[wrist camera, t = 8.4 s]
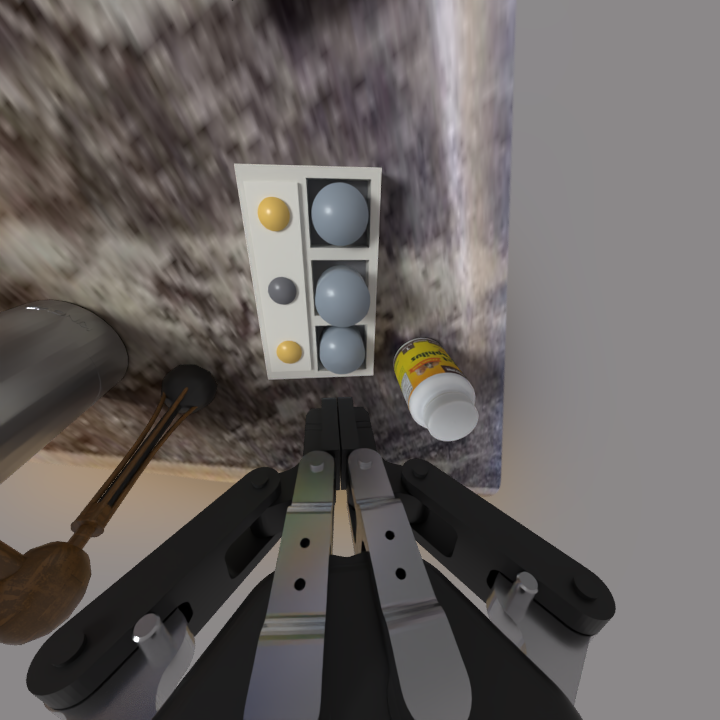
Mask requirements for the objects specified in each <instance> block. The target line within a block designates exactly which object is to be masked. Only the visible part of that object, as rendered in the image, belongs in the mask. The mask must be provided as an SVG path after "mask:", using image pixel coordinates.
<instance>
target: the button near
mask: <svg viewBox="0 0 720 720" xmlns="http://www.w3.org/2000/svg"><path fill="white" fill-rule="evenodd" d="M368 216H369V215H368V207H367V203H366V201H365V199H364V197H363V195H362V194H361V193H360V192H359V191H358V190H357V189H356V188H355V187H353V186H352V185H349V184H346V183H341V182H338V183H332V184H329V185H327V186H325V187H324V188H323V189H322V190H321V191H320V192H319V193H318V194H317V196H316V197H315V199H314V202H313V205H312V221H313V225H314V227H315V229H316V231H317V233H318V234H319V235H320V237H321V238H322V239H324V240H325V241H326V242H328V243H330V244H333V245H337V246H345V245H349V244H352V243H354V242H355V241H357V240H358V239H359V238H360V237H361V236H362V234H363V233H364V231H365V229H366V227H367V223H368Z"/></svg>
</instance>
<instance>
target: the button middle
mask: <svg viewBox="0 0 720 720" xmlns="http://www.w3.org/2000/svg"><path fill="white" fill-rule="evenodd" d="M315 305H316V309H317V311H318V313H319V315H320V316H321V318H322V319H323V320H324V321H326V322H327V323H329V324H331V325H333V326H336V327H349V326H352V325H355V324H357V323H358V322H360V321H361V320H362V319H363V318H364V317H365V316H366V314H367V312H368V310H369V307H370V293H369V290H368V288H367V286H366V284H365V282H364V280H363V278H362V276H361V275H360V274H359V272H357V271H356V270H355V269H353V268H351V267H349V266H345V265H337V266H333V267H330V268H328V269H327V270H326V271H324V272H323V273H322V275H321V276H320V278H319V280H318V282H317V287H316V296H315Z"/></svg>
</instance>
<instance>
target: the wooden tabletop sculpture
mask: <svg viewBox="0 0 720 720" xmlns="http://www.w3.org/2000/svg"><path fill="white" fill-rule="evenodd" d="M217 385H218V384H217V383H216V381H215V379H214V378H213V376H212V374H211V373H210V372H208V371H206V370H205V369H203V368H201V367H199V366H197V365H178V366H177V367H176V368H174V369H173V370H171V371H170V372H169V373H168V374H167V375H166V376H165V377H164V379H163V382H162V391H161V400H160V402H159V404H158V406H157V409H156V411H155V412H154V414H153V416H152V418H151V419H150V421H149V423H148V424H147V426H146V428H145V429H144V430H143V432H142V433H141V435H140V436H139V438H138V439H137V441H136V442H135V444H134V445H133V447H132V448H131V449H130V450H129V452H128V453H127V454H126V456H125V457H124V458H123V460H122V461H121V462H120V464H119V465H118V466H117V468H116V469H115V470H114V472H113V473H112V474H111V476H110V477H109V478H108V479H107V481H106V482H105V483H104V484H103V486H102V487H101V488H100V489H99V491H98V492H97V493H96V495H95V496H94V497H93V498H92V500H91V501H90V502H89V504H88V505H87V506H86V507H85V509H84V510H83V511H82V512H81V514H80V515H79V516H78V517H77V519H76V520H75V521H74V522H73V523H72V524H71V530H72V531H73V532H74V535H73V536H72V537H71V538H70V540H69V541H68V542H59V541H56V542H50V543H47V544H44V545H42V546H39V547H36V548H33V549H30V550H29V551H28V552H26V553H25V554H24V555H22V554H21V553H19V552H18V551H16V550H15V549H13V548H12V547H10V546H8V545H7V544H5V543H4V542H2V541H1V540H0V643H3V644H8V645H22V644H25V643H27V642H30V641H32V640H35V639H37V638H40V637H42V636H45V635H47V634H49V633H50V632H52V631H53V630H54V629H55V628H57V627H58V626H59V625H60V624H62V623H63V622H64V621H65V620H66V619H68V618H69V617H70V615H71V614H72V612H73V611H74V610H75V608H76V607H77V605H78V604H79V603H80V601H81V600H82V598H83V596H84V594H85V592H86V589H87V586H88V583H89V580H90V577H91V566H90V559H89V556H88V554H87V553H85V552H84V551H83V550H82V549H83V547H84V546H85V544H86V543H87V542H88V540H89V539H90V537H97V536H99V535H101V534H102V533H103V532H104V528H105V526H106V525H107V523H108V522H109V520H110V519H111V517H112V516H113V514H114V513H115V511H116V510H117V508H118V507H119V506H120V504H121V502H122V501H123V500H124V498H125V497H126V495H127V494H128V492H129V491H130V489H131V488H132V486H133V485H134V483H135V482H136V480H137V479H138V478H139V476H140V475H141V473H142V472H143V471H144V469H145V468H146V466H147V465H148V464H149V462H150V461H151V459H152V458H153V457H154V455H155V454H156V452H157V451H158V450H159V449H160V447H161V446H162V445H163V443H164V442H165V441H166V440H167V438H168V437H169V436H170V435H171V433H172V432H173V431H174V430H175V429H176V428H177V427H178V426H179V425H180V423H181V422H182V421H183V420H184V419H185V418H186V417H187V416H188V415H189V414H191V413H195V412H197V411H199V410H201V409H202V408H204V407H205V406H207V405H208V404H210V402H211V401H212V400H213V399H214V397H215V395H216V390H217ZM164 402H165V404H166V405H167V406H168V408H169V409H168V410H167V412H166V413H165V414H164V416H163V417H162V418H161V420H160V421H159V422H158V424H157V425H156V426H155V428H154V429H153V430H152V432H151V433H150V434H149V435H148V437H147V438H146V439H145V441H144V442H143V443H142V445H141V446H140V444H141V442H142V441H143V439H144V438H145V436H146V435H147V433H148V432H149V430H150V429H151V427H152V425H153V424H154V422H155V420H156V418H157V416H158V415H159V413H160V411H161V409H162V406H163V404H164ZM178 413H185V414H184V415H183V416H182V417H180V418H179V420H178V421H177V422H176V423H175V424H174V425H173V426H172V427H171V428H170V429H169V430H168V431H167V432H166V434H165V435H164V436H163V437H162V439H161V440H160V441H159V439H160V438H161V436H162V435H163V433H164V432H165V431H166V429H167V428H168V426H169V425H170V423H171V422H172V421H173V419H174V418H175V416H176V415H177V414H178ZM158 441H159V442H158ZM157 442H158V443H157ZM156 443H157V445H156ZM155 445H156V446H155ZM139 446H140V447H139ZM154 446H155V447H154ZM138 447H139V449H138V450H137V448H138ZM152 449H153V450H152ZM136 450H137V451H136ZM135 451H136V453H135ZM134 453H135V454H134ZM149 453H150V454H149ZM133 454H134V455H133ZM132 455H133V457H132ZM131 457H132V458H131ZM130 458H131V459H130ZM129 459H130V460H129ZM128 461H129V462H128ZM127 462H128V463H127ZM126 463H127V464H126ZM125 465H126V466H125ZM124 466H125V467H124ZM122 469H123V470H122ZM121 470H122V471H121ZM120 472H121V473H120ZM119 473H120V474H119ZM118 474H119V475H118ZM116 477H117V478H116ZM115 478H116V479H115ZM113 481H114V482H113ZM112 482H113V483H112ZM109 486H110V487H109ZM108 487H109V488H108ZM106 490H107V491H106ZM105 491H106V492H105ZM103 494H104V495H103ZM102 495H103V496H102ZM100 498H101V499H100ZM99 499H100V500H99ZM97 502H98V503H97Z"/></svg>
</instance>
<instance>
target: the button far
mask: <svg viewBox="0 0 720 720" xmlns="http://www.w3.org/2000/svg"><path fill="white" fill-rule="evenodd" d="M364 358H365V349H364V345H363V341H362V337H361V334H360V332H359V330H358V329H357V327H356V326H354V325H352V326H349V327H336V326H333V325H328V326H327V327H326V328H325V329H324V330H323V332H322V334H321V338H320V360H321V362H322V364H323V366H324V367H325V368H326V369H327V370H329V371H331V372H333V373H336V374H348V373H351V372H353V371H355V370H357V369H358V368H359V367H360V366H361V365H362V363H363V361H364Z"/></svg>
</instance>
